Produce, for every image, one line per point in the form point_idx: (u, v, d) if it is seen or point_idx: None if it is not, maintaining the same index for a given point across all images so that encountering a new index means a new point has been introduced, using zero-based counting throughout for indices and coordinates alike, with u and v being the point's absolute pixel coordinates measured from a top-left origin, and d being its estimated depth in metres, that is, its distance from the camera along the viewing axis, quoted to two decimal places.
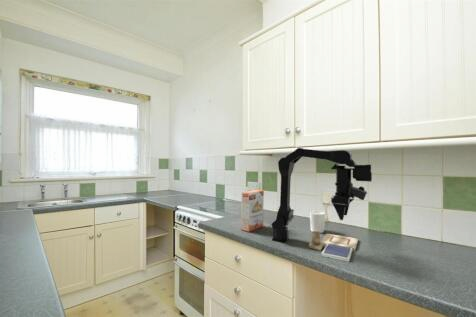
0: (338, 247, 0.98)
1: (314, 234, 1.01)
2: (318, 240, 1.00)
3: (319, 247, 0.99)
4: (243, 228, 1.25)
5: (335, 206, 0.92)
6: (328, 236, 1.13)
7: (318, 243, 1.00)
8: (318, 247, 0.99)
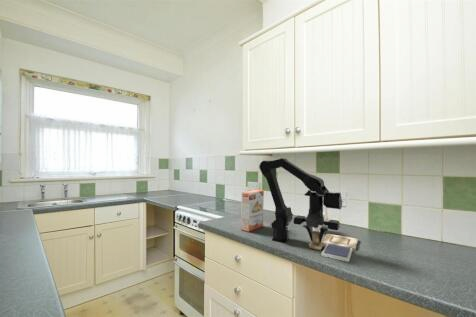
0: (338, 247, 0.98)
1: (314, 234, 1.01)
2: (318, 240, 1.00)
3: (319, 247, 0.99)
4: (243, 228, 1.25)
5: None
6: (328, 236, 1.13)
7: (318, 243, 1.00)
8: (318, 247, 0.99)
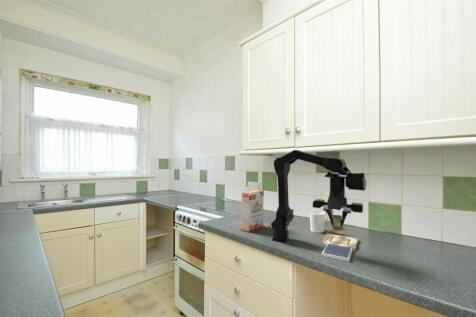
0: (338, 247, 0.98)
1: (335, 218, 0.94)
2: (340, 224, 0.94)
3: (341, 231, 0.92)
4: (243, 228, 1.25)
5: None
6: (328, 236, 1.13)
7: (340, 227, 0.94)
8: (340, 231, 0.92)
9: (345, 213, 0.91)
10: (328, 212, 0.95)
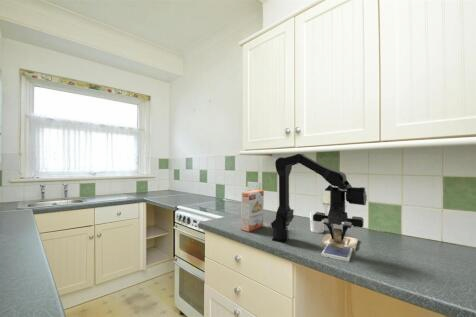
0: None
1: (336, 231, 0.94)
2: (340, 238, 0.94)
3: (341, 245, 0.92)
4: (243, 228, 1.25)
5: None
6: (328, 236, 1.13)
7: (340, 241, 0.94)
8: (340, 245, 0.92)
9: (345, 227, 0.91)
10: (328, 226, 0.95)
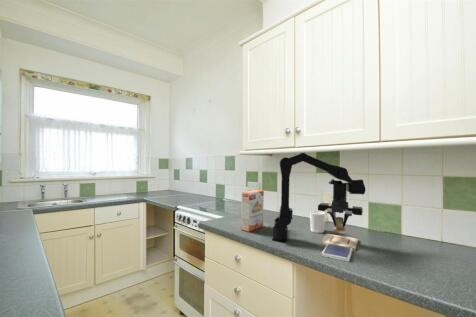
0: (338, 247, 0.98)
1: (338, 219, 1.07)
2: (342, 225, 1.06)
3: (343, 231, 1.05)
4: (243, 228, 1.25)
5: None
6: (328, 236, 1.13)
7: (342, 228, 1.06)
8: (342, 231, 1.05)
9: (347, 216, 1.04)
10: (331, 215, 1.08)
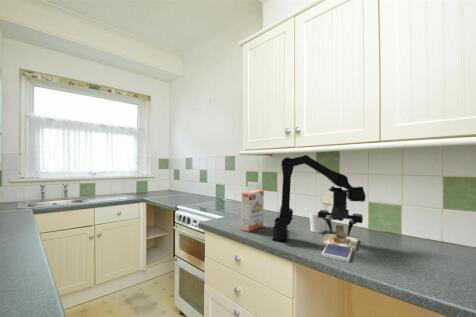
0: (338, 247, 0.98)
1: (338, 227, 1.07)
2: (342, 233, 1.06)
3: (343, 239, 1.05)
4: (243, 228, 1.25)
5: None
6: (328, 236, 1.13)
7: (342, 236, 1.06)
8: (342, 239, 1.05)
9: (351, 224, 1.03)
10: (327, 221, 1.09)
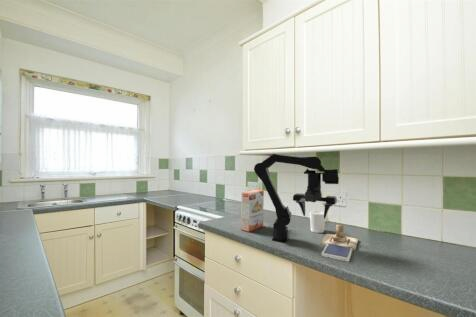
0: (338, 247, 0.98)
1: (338, 227, 1.07)
2: (342, 233, 1.06)
3: (343, 239, 1.05)
4: (243, 228, 1.25)
5: None
6: (328, 236, 1.13)
7: (342, 236, 1.06)
8: (342, 239, 1.05)
9: (327, 206, 1.02)
10: (300, 204, 1.08)
